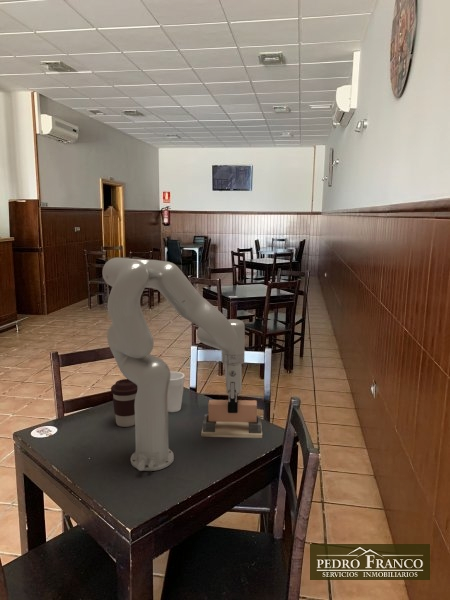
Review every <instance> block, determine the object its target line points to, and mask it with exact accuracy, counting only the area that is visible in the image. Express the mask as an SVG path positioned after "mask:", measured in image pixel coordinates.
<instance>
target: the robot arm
mask: <svg viewBox="0 0 450 600" xmlns="http://www.w3.org/2000/svg"><path fill="white" fill-rule="evenodd" d="M102 278H103V280H104V282H105V283H106V284H107V285H109V286H110V287H111V290H110V293H109V295H108V298H107V313H108V315H109V319H110V321H111V324H110V325H109V327H108V329H107V332H106V333H107V334H106V339H107V340H106V341H107V344H108V347H109V349H110V352H111V354H112V356H113V358H114V360H115V362H116V364H117V365H116V366H117V367H118V369H119V371H120V373H121V374H122V375H123V376H124V378H125V379H128V380H130V381H132V382H133V383H135V384H136V385H137V387H138V390H137V394H136V397H135V404H134V408H135V425H134V431H135V433H134V434H135V435H134V436H135V451H134V452H133V453H132V454H131V455H130V464H131V465H132V467H133V468H135V469H137V470H138V471H139V472H142V471H145V472H152V471H159V470H162V469H165V468H167V467H169V466H170V465H172V464H173V462H174V460H175V454H174V452H173V451H172V450H171V449H170V448H169V412H168V390H169V384H170V377H171V374H170V372H171V370H170V367H169V365H168V364H167V363H166V362H165V361H164V360H163V359H161V358H159V357H158V356H156V355H154V354H151V353H152V352H153V349H154V338H153V334H152V332H151V330H150V328H149V325H148V323H147V320H146V318H145V315H144V314H143V310H142V306H141V298H142V295H143V292H144V290H145V289H147V288H148V289H149V288H150V289H154V290H157V291H158V292H160V294H161V295H162V296H163V297H164V298H165V299H166V301H167V302H168V303H169V304H170V305H171V307H172V308H173V309H174V310H175V311H176V313H177V314H178V315H179V316H181V317H183V318H184V319H185V320H187V321H189V322H191V323H193V324H194V325H196V326H198V327H197V329H196V338H197V339H198V341H199V342H200V343H201V344H204V345H206V346H209V347H212V348H214V349H218V350H220V351H221V363H222V364H224V365H225V366H224V367H225V368H224V369H225V370H224V371H225V372H224V373H225V378H224V379H225V388H226V389H225V390H226V394H228V399H227V400H229V401H228V413H237V412H238V401H237V400H239V396H238V394H239V395H240V394H241V393H242V382H243V381H242V370H243V368H242V365H243V364H244V363H245V342H246V341H245V339H246V338H245V335H246V334H245V330H246V327H245V322H244V321H243V320H240V319H235V318H232V319H231V318H230V319H228V318H227V317H226V316H225V314H223V313H222V312H221V311H220V310H219V309H217V308H216V307H215V306H214V305H213V304H212V303H210V302H209V301H208V300H207V299H206V298H204V297H203V295H201V294H200V293H199V292H198V290H197V289H196V288H195V287H194V285H193V284H192V283H191V282H190V280H189V279H188V278H187V276H186V275H185V274H184V272H183V271H182V270H181V269H180V268H179V266H178V265H176V264H175V263H173V262H170V261H165V260H158V259H141V258H127V257H113V258H110V259H109V260H108V261H106V262H105V264H103V267H102Z"/></svg>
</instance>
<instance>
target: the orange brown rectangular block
mask: <svg viewBox="0 0 450 600" xmlns="http://www.w3.org/2000/svg"><path fill="white" fill-rule="evenodd" d="M228 401H229V400H228V399H209V401H208V406H207V407H208V414H209V421H210V422H257V415H258V413H257V412H258V401H257V400H255V399H254V400H252V399H251V400H248V399H247V400H246V399H243V400H242V399H238V400H237V401H238V412H237V413H228Z"/></svg>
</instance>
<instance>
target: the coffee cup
mask: <svg viewBox="0 0 450 600" xmlns="http://www.w3.org/2000/svg"><path fill="white" fill-rule="evenodd" d="M137 390H138V387H137V385H136V384H135V383H133V382H132V381H130V380H128V379H127V378H123V379H119V380H117V381H115V383H114V384H112V385H111V387H110V393H111V394H112V395H113V396H112V402H113V403H112V404H113V410H114V411H113V412H114V414H115V422H116V425H117V427H122V428H129V427H133V426H135V408H134V404H135V397H136V394H137Z"/></svg>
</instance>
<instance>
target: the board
mask: <svg viewBox="0 0 450 600" xmlns="http://www.w3.org/2000/svg"><path fill="white" fill-rule="evenodd" d="M261 419H262V417H261V415H258V414H257V422H210V421H209V413H205V414H204V416H203V421H202V428H201V434H200V436H201V437H208V438H209V437H211V438H238V439H239V438H241V439H244V438H246V439H263V428H262V420H261Z"/></svg>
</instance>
